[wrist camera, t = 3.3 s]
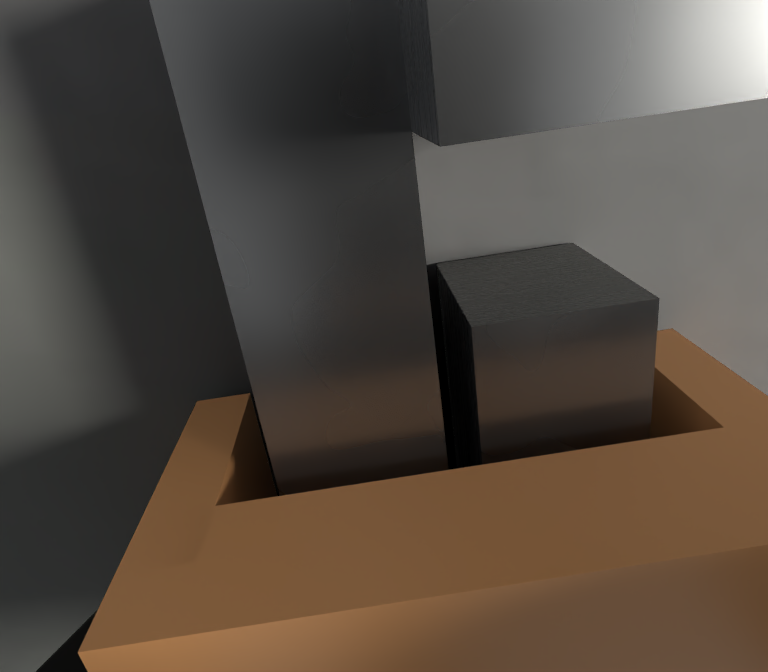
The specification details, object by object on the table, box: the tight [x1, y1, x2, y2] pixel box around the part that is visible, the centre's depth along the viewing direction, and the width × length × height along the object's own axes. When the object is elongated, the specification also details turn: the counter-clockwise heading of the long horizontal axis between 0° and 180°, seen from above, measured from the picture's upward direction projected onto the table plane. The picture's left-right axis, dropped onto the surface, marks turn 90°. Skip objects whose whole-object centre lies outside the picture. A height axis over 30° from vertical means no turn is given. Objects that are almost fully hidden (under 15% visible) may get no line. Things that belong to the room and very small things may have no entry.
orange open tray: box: [78, 329, 768, 672], centre depth 7 cm, size 4×7×4 cm, turn 98°
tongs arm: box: [149, 0, 768, 496], centre depth 7 cm, size 12×4×4 cm, turn 8°
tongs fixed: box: [436, 243, 659, 469], centre depth 10 cm, size 13×4×2 cm, turn 8°
